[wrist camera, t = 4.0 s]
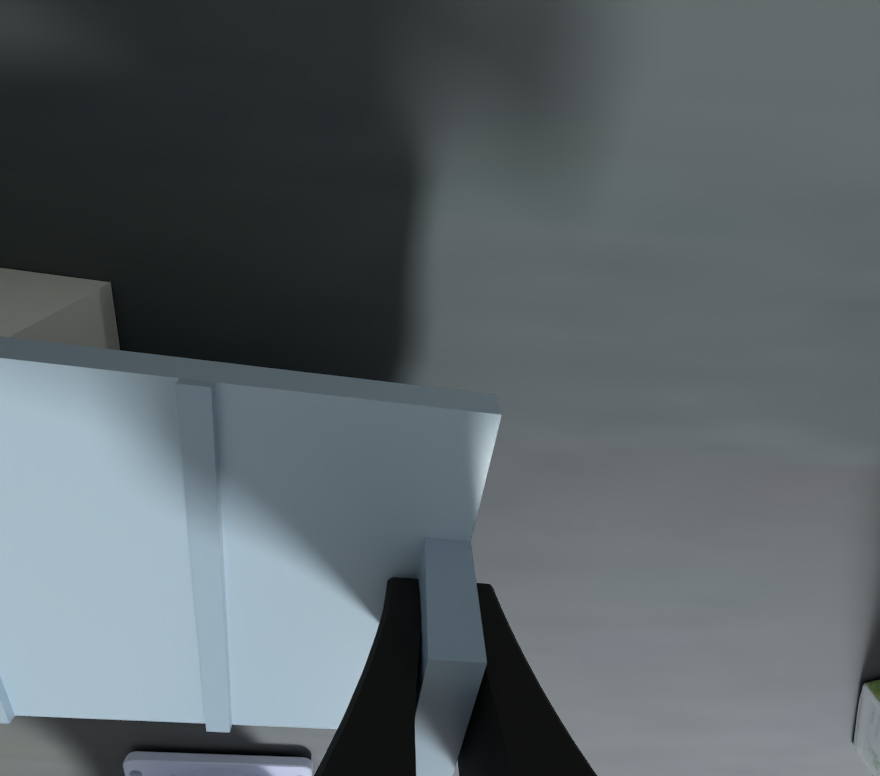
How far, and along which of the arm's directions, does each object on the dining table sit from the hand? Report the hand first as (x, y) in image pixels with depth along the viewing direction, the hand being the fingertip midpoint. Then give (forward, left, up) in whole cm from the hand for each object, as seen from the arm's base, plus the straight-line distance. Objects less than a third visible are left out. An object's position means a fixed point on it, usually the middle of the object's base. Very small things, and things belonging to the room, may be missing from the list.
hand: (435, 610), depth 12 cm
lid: (0, +8, -1) cm, 8 cm away
